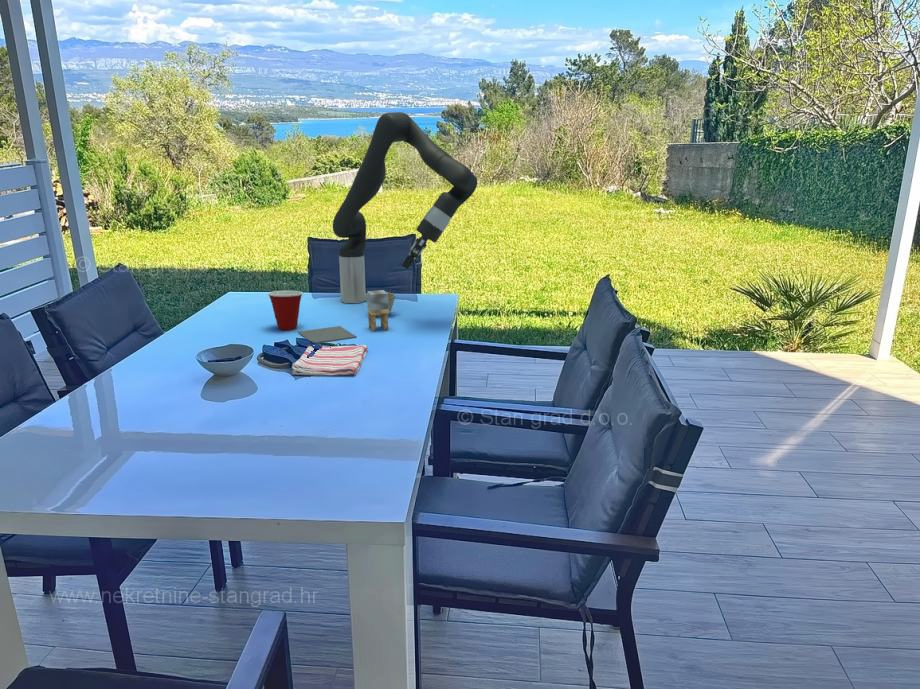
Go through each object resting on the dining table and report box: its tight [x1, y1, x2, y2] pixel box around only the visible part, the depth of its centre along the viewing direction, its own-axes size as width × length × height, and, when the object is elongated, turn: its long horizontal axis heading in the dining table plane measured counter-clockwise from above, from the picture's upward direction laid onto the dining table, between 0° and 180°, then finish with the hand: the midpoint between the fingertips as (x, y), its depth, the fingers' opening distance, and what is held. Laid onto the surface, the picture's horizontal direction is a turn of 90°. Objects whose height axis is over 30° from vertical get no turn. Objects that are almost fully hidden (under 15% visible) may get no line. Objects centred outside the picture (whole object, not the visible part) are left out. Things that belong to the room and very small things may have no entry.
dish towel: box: [291, 344, 369, 377], centre depth 182 cm, size 17×23×4 cm
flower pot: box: [365, 291, 396, 318], centre depth 231 cm, size 10×10×7 cm
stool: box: [366, 289, 390, 332], centre depth 214 cm, size 6×6×12 cm
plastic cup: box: [267, 290, 304, 331], centre depth 214 cm, size 11×11×12 cm
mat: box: [297, 325, 357, 344], centre depth 208 cm, size 14×14×1 cm
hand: (404, 266), depth 212 cm, fingers open, 8 cm apart
